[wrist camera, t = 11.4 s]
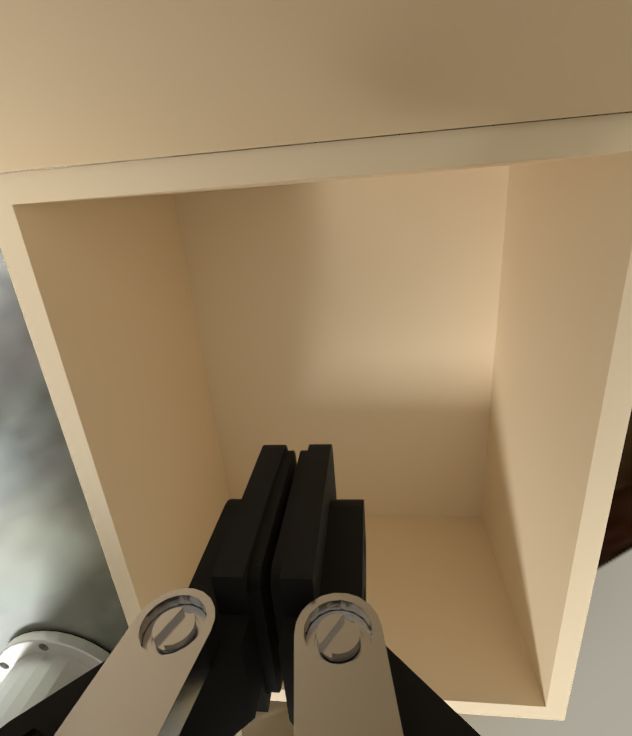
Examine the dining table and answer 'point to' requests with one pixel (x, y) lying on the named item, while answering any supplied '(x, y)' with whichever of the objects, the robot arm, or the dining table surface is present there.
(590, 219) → the carton
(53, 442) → the dining table surface
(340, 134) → the lid flap
